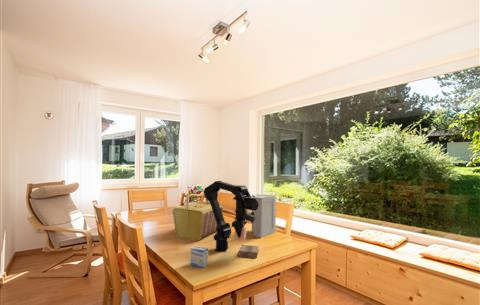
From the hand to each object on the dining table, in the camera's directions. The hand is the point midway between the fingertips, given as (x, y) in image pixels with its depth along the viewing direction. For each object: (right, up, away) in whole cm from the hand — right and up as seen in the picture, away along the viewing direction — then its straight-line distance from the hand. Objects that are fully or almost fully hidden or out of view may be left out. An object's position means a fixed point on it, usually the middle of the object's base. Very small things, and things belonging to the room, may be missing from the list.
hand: (240, 236), depth 133 cm
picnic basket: (-30, -12, +37) cm, 49 cm away
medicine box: (-21, -11, -13) cm, 27 cm away
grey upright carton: (+15, -13, +43) cm, 47 cm away
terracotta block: (0, -2, 0) cm, 2 cm away
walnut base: (+5, -11, +3) cm, 13 cm away
